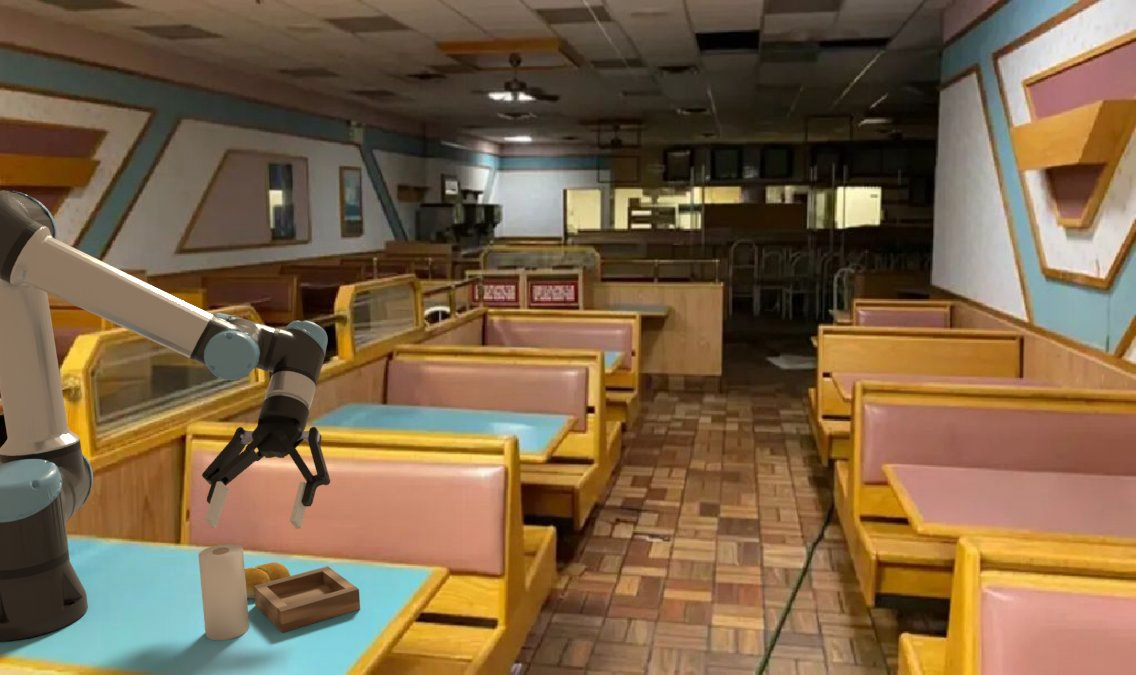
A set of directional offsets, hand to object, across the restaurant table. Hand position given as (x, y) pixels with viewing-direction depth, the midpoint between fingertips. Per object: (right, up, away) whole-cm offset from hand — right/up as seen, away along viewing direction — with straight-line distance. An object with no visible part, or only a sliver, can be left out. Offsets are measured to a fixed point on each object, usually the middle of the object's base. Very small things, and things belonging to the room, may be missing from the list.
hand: (252, 524), depth 141 cm
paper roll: (-2, -14, -6) cm, 15 cm away
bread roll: (-2, -13, +9) cm, 16 cm away
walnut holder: (+8, -13, +1) cm, 15 cm away
